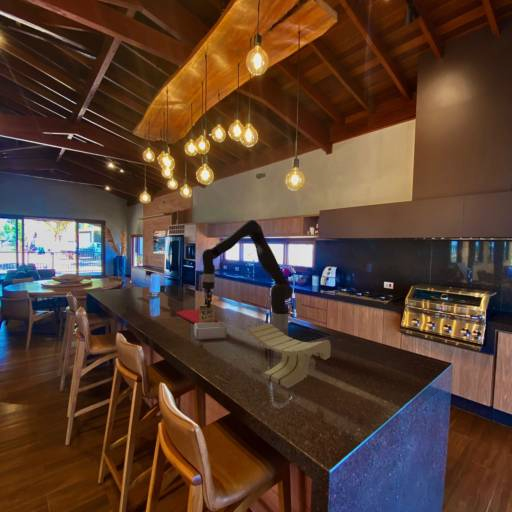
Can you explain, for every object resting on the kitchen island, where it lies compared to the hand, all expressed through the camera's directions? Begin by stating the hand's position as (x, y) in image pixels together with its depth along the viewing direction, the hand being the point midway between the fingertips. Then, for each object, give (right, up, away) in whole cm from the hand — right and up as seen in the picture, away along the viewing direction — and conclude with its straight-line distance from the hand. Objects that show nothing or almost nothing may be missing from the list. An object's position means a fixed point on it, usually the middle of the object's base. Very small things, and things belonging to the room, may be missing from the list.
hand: (207, 306), depth 173 cm
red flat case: (-11, -14, +23) cm, 29 cm away
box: (+3, -15, -11) cm, 19 cm away
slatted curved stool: (+43, -18, -59) cm, 75 cm away
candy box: (-1, -15, 0) cm, 15 cm away
